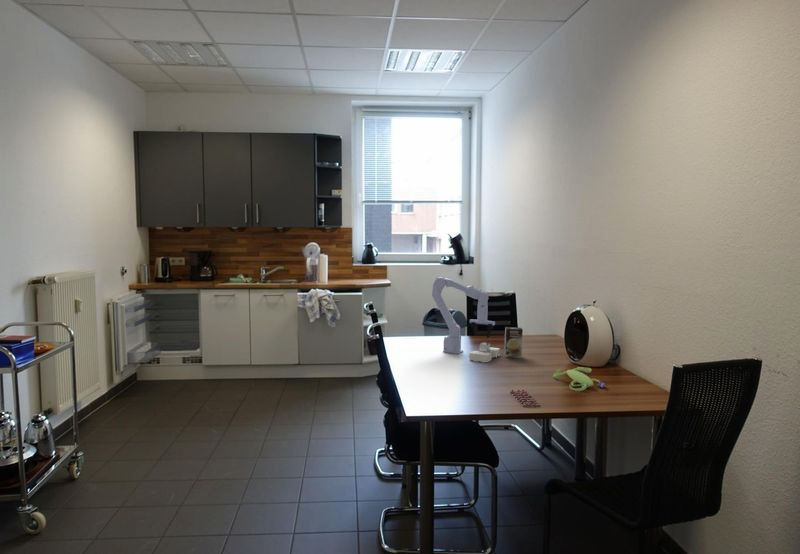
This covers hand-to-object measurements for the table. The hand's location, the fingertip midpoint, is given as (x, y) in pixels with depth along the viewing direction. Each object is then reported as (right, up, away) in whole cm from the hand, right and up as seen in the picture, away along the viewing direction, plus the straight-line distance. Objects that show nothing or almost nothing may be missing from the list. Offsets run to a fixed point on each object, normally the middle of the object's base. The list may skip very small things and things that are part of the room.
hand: (481, 336), depth 313 cm
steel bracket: (0, -10, -11) cm, 15 cm away
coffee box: (+16, -11, -7) cm, 20 cm away
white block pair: (0, -10, -11) cm, 15 cm away
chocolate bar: (+5, -18, -84) cm, 86 cm away
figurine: (+36, -16, -57) cm, 70 cm away
